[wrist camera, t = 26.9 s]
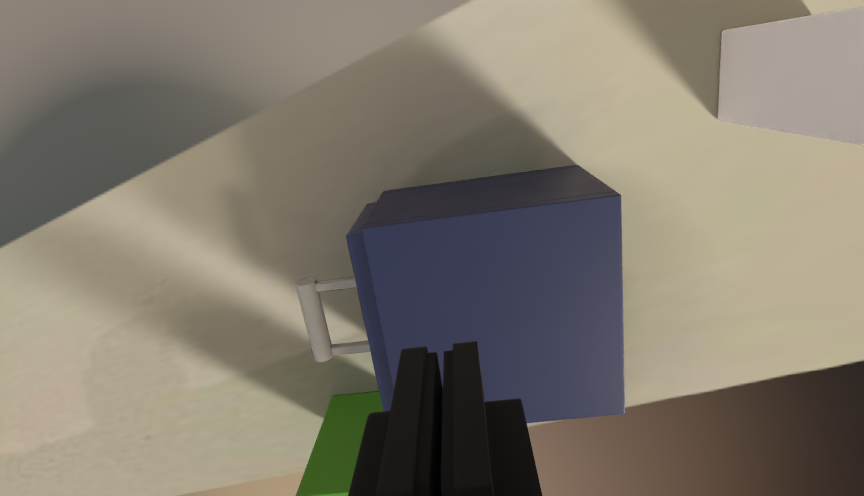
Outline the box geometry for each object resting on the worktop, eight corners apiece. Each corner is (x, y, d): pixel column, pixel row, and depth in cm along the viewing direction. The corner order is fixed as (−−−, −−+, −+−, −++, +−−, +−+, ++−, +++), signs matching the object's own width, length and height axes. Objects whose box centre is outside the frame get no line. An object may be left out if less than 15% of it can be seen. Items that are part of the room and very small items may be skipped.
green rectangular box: (332, 395, 43) (295, 496, 33) (398, 389, 43) (382, 489, 32) (340, 427, 44) (306, 535, 34) (405, 421, 44) (391, 528, 34)
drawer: (339, 364, 41) (315, 427, 34) (303, 212, 37) (266, 246, 29) (560, 340, 40) (585, 401, 32) (549, 179, 35) (575, 206, 28)
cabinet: (413, 357, 42) (402, 435, 33) (382, 191, 37) (360, 228, 28) (586, 338, 40) (625, 414, 31) (578, 164, 36) (621, 194, 27)
